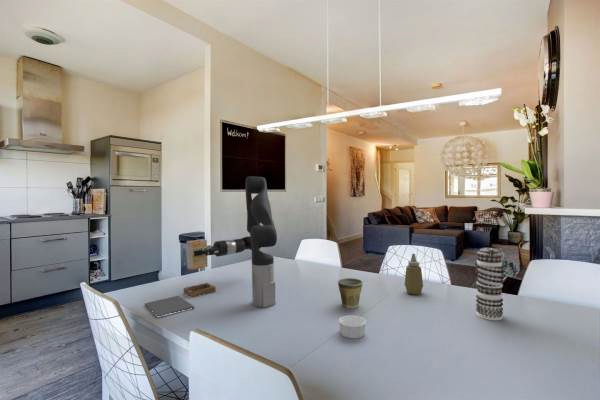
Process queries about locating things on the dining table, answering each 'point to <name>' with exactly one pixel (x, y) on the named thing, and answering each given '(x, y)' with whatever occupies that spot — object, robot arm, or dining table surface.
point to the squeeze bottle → (413, 277)
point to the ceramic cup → (350, 292)
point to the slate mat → (168, 305)
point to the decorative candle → (489, 284)
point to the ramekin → (352, 326)
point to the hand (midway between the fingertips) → (191, 252)
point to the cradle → (199, 290)
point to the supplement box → (196, 261)
